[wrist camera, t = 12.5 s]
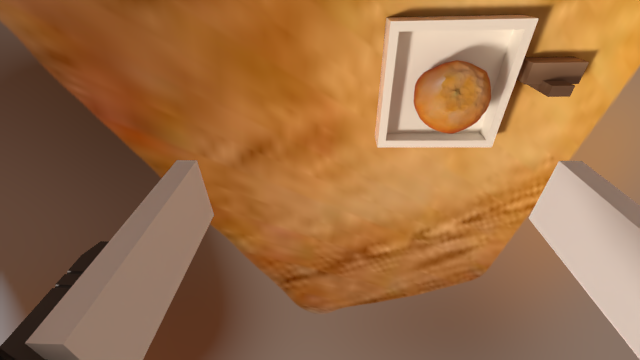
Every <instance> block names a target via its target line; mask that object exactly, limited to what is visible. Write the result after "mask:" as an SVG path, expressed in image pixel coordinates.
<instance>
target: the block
mask: <svg viewBox="0 0 640 360" xmlns="http://www.w3.org/2000/svg"><path fill="white" fill-rule="evenodd" d="M588 63H589V62H587V61H584V60H582V59H579V58H576V57H525V58H524V60H523V63H522V66H521V69H520V71H519V74H518V77H517V80H519V81H520V82H522V83H524V84H527V85H529V86H531V87H532V88H534V89H536V90H537V91H539V92H541V93H543V94H544V95H546V96H548V97H559V96H570V95H571V93H572V91H573V89H574V87H575V85H572V84H579V82H580V80H581V78H582V76H583V74H584V72H585V70H586V67H587V65H588Z"/></svg>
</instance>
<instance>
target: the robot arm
mask: <svg viewBox="0 0 640 360" xmlns="http://www.w3.org/2000/svg"><path fill="white" fill-rule="evenodd" d="M213 216H214V213H213V210H212V207H211V204H210V201H209V198H208V194H207V191H206V188H205V185H204V182H203V179H202V175H201V172H200V169H199V166H198V163H197V160H177V161H176V162H175V163H174V164H173V166H172V167H171V168H170V169H169V170H168V172H167V173H166V174H165V175H164V176H163V178H162V179H161V180H160V181H159V182H158V184H157V185H156V186H155V187H154V188H153V190H152V191H151V192H150V193H149V194H148V196H147V197H146V198H145V199H144V201H143V202H142V203H141V204H140V205H139V207H138V208H137V209H136V210H135V211H134V212H133V214H132V215H131V216H130V217H129V219H128V220H127V221H126V222H125V223H124V225H123V226H122V227H121V228H120V229H119V230H118V232H117V233H116V234H115V235H114V237H113V238H112V239H111V240H110V241H109V242H99V243H98V244H96V245H95V246H94V247H92V248H91V249H90V250H88V251H87V252H85V253H84V254H83V255H81V257H80V258H79V259H78V260H77V261H76V262H75V263H74V264H73V266H72V267H71V268H70V269H69V270H68V273H67V274H65V275H64V276H63V277H62V278H61V279H60V280H59V281H58V282H57V283H56V287H55V288H52V289H51V290H50V291H49V293H48V294H47V295H46V296H45V297H44V298H43V299H42V300H41V301H40V303H39V304H38V305H37V306H36V307H35V308H34V310H33V311H32V312H31V313H30V314H29V315H28V316H27V317H26V318H25V320H24V321H23V322H22V323H21V324H20V325H19V326H18V327H17V328H16V330H15V331H14V332H13V333H12V334H11V335H10V336H9V338H8V339H7V340H6V341H5V342H4V343H3V344H2V345H1V346H0V360H143V358H144V356H145V354H146V352H147V350H148V348H149V346H150V344H151V342H152V339H153V337H154V336H155V334H156V331H157V329H158V327H159V325H160V323H161V321H162V319H163V317H164V315H165V313H166V311H167V309H168V307H169V305H170V303H171V301H172V299H173V297H174V295H175V293H176V291H177V289H178V287H179V285H180V283H181V281H182V279H183V277H184V275H185V273H186V271H187V269H188V266H189V264H190V263H191V261H192V258H193V257H194V254H195V252H196V250H197V248H198V246H199V244H200V242H201V240H202V238H203V236H204V234H205V232H206V230H207V228H208V226H209V224H210V222H211V220H212V218H213ZM529 219H530V221H531V222H532V223H533V224H534V226H535V227H536V228H537V230H538V231H539V232H540V233H541V234H542V236H543V237H544V238H545V240H546V241H547V242H548V244H549V245H550V246H551V247H552V249H553V250H554V251H555V252H556V254H557V255H558V256H559V258H560V259H561V260H562V261H563V263H564V264H565V265H566V266H567V268H568V269H569V270H570V272H571V273H572V274H573V275H574V277H575V278H576V279H577V280H578V282H579V283H580V284H581V285H582V287H583V288H584V289H585V291H587V293H588V294H589V296H590V297H591V298H592V299H593V301H594V302H595V303H596V305H597V306H598V307H599V308H600V310H601V311H602V312H603V313H604V315H605V316H606V317H607V319H608V320H609V321H610V322H611V323H612V325H613V326H614V327H615V329H616V330H617V331H618V332H619V334H620V335H621V336H622V338H623V339H624V340H625V341H626V343H627V344H628V345H629V347H630V348H631V349H632V350H633V351H634V353H635V354H636V355H637V357H638V358H639V359H640V205H638V204H637V203H636V202H634V201H633V200H632V199H630V198H629V197H628V196H627V195H625V194H624V193H623V192H621V191H620V190H619V189H617V188H616V187H615V186H614V185H612V184H611V183H610V182H608V181H607V180H606V179H604V178H603V177H602V176H601V175H599V174H598V173H596V172H595V171H594V170H593V169H591V168H590V167H589V166H587V165H586V164H585V163H584V162H582V161H559V162H558V164H557V166H556V168H555V170H554V172H553V173H552V175H551V177H550V179H549V181H548V183H547V185H546V187H545V188H544V190H543V192H542V194H541V196H540V198H539V200H538V202H537V203H536V205H535V207H534V209H533V211H532V213H531V215H530V216H529Z"/></svg>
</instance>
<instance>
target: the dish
mask: <svg viewBox="0 0 640 360" xmlns="http://www.w3.org/2000/svg"><path fill="white" fill-rule="evenodd" d="M538 19H539V18H536V17H531V16H527V15H485V16H436V17H388V18H386V27H385V37H384V48H383V58H382V68H381V79H380V89H379V100H378V110H377V120H376V131H375V139H376V144H377V147H492V145H493V143H494V140H495V137H496V134H497V132H498V129H499V126H500V123H501V121H502V118H503V115H504V112H505V110H506V107H507V104H508V101H509V99H510V96H511V93H512V90H513V88H514V85H515V82H516V80H517V77H518V74H519V71H520V69H521V66H522V63H523V60H524V58H525V55H526V52H527V49H528V47H529V44H530V41H531V38H532V36H533V33H534V30H535V27H536V25H537V22H538ZM455 60H459V61H465V62H469V63H471V64H474V65H475V66H477V67H479V68H481V69H483V70H485V71H486V72H487V73H488V77H489V79H490V85H491V100H490V103H489V106H488V108H487V110H486V112H485V113H484V114H483V115H482V116H481V118H480V119H479V120H478V121H477V122H476V123H475V124H473V125H472V126H470V127H468V128H466V129H464V130H462V131H459V132H456V133H453V134H448V133H443V132H439V131H436V130H434V129H432V128H430V127H429V126H427V125H426V124H425V123H424V122H423V121H422V120H421V119H420V118H419V116H418V114H417V111H416V109H415V106H414V90H415V84H416V82H417V80H418V78H419V77H420V76H421V75H422V74H423V73H424V72H426V71H428V70H430V69H432V68H435V67H437V66H439V65H441V64H443V63H446V62H451V61H455Z"/></svg>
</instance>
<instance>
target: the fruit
mask: <svg viewBox="0 0 640 360" xmlns="http://www.w3.org/2000/svg"><path fill="white" fill-rule="evenodd" d="M490 100H491V85H490V79H489V77H488V73H487V72H486V71H485V70H483V69H481V68H479V67H477V66H475V65H474V64H471V63H469V62H465V61H459V60H455V61H451V62H446V63H443V64H441V65H439V66H437V67H435V68H432V69H430V70H428V71H426V72H424V73H423V74H422V75H421V76H420V77H419V78H418V80H417V82H416V84H415V90H414V106H415V109H416V111H417V114H418V116H419V118H420V119H421V120H422V121H423V122H424V123H425V124H426V125H427V126H429V127H430V128H432V129H434V130H436V131H439V132H443V133H448V134H453V133H456V132H459V131H462V130H464V129H466V128H468V127H470V126H472V125H473V124H475V123H476V122H477V121H478V120H479V119H480V118H481V116H482V115H483V114H484V113H485V112H486V110H487V108H488V106H489V103H490Z"/></svg>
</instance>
